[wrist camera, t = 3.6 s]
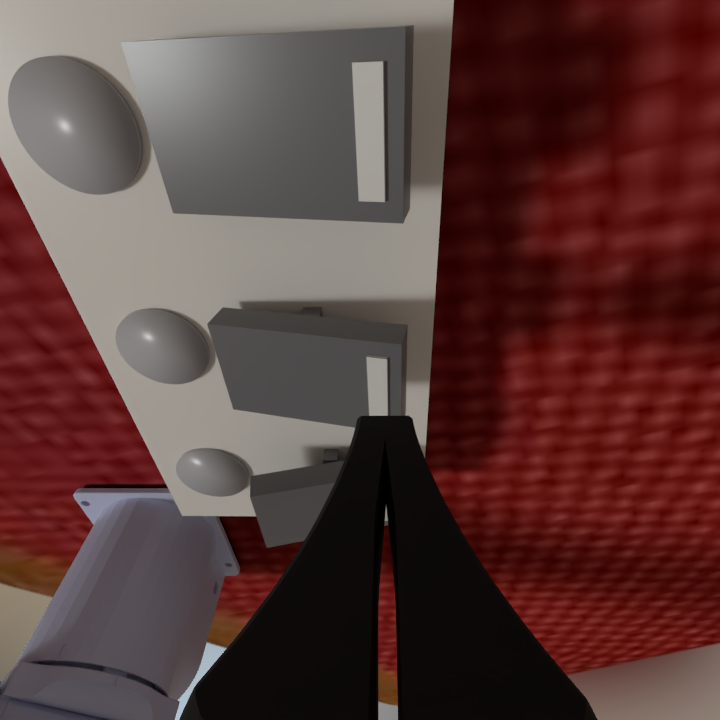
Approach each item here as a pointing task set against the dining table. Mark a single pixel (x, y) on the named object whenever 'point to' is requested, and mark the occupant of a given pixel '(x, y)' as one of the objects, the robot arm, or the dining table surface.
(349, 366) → the middle rocker
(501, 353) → the dining table surface
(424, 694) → the robot arm
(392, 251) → the power strip
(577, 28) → the dining table surface
